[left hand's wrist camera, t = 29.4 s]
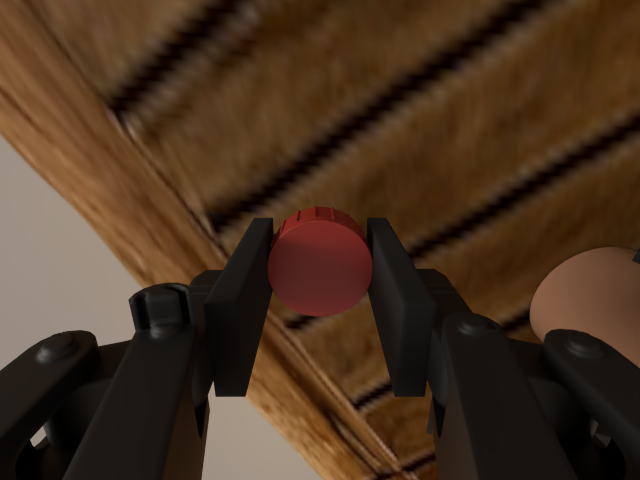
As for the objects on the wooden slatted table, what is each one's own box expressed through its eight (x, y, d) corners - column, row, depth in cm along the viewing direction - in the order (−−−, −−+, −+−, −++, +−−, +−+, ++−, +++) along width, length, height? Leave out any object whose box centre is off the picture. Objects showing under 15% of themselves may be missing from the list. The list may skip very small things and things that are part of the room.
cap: (377, 281, 15) (385, 303, 13) (288, 303, 15) (284, 327, 13) (355, 193, 13) (361, 206, 12) (258, 220, 14) (249, 236, 12)
